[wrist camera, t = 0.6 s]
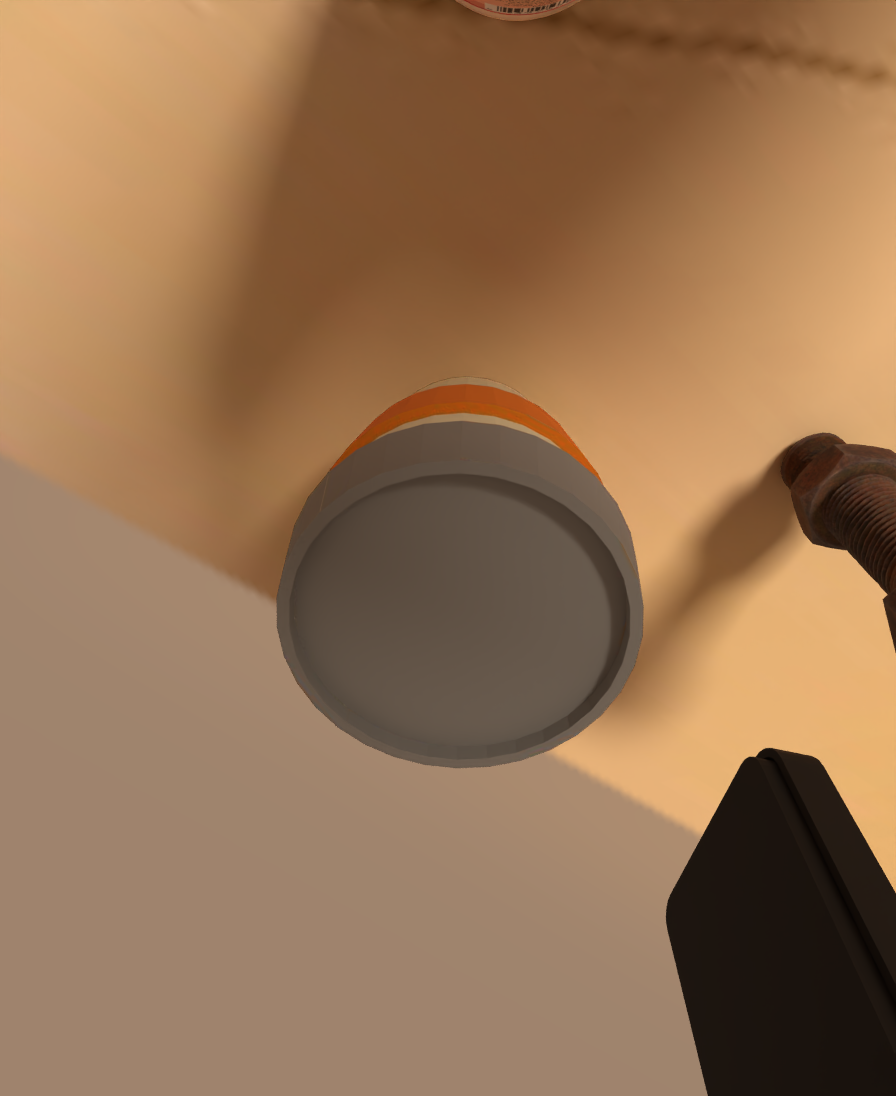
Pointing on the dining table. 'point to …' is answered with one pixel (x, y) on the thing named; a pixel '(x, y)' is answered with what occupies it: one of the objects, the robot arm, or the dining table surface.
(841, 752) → the dining table surface
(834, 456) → the bolt
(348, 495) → the reusable coffee cup
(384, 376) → the dining table surface
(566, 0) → the fruit juice
